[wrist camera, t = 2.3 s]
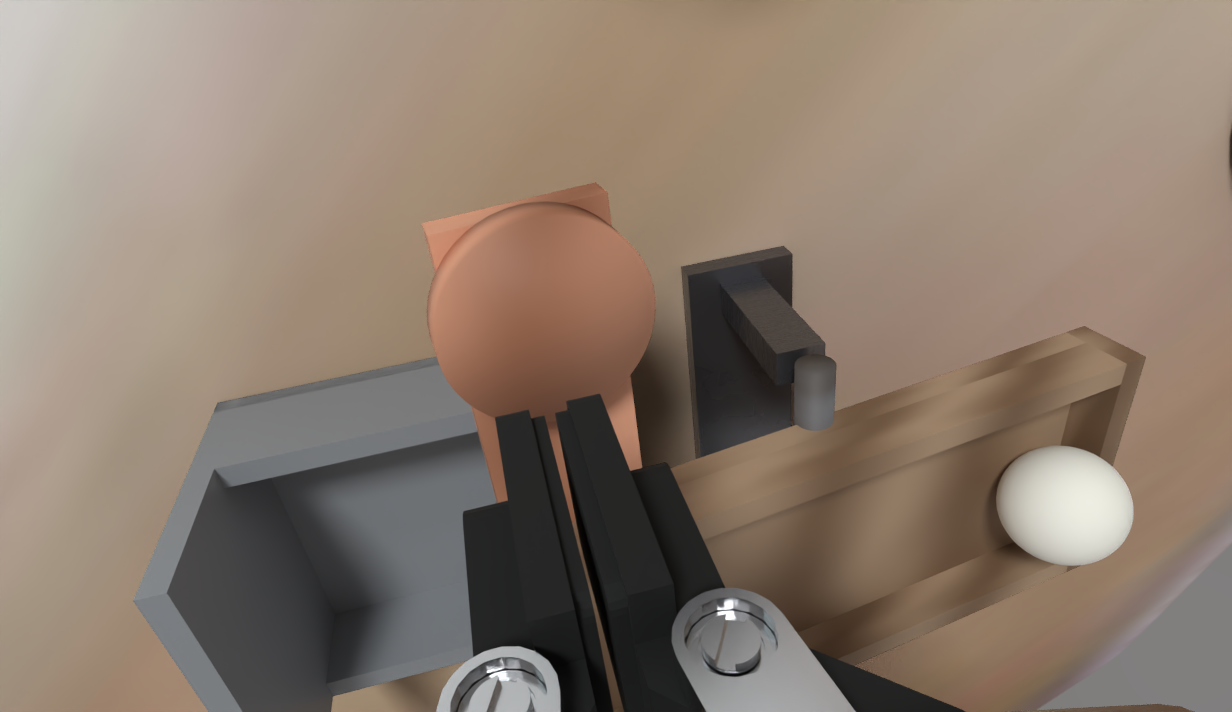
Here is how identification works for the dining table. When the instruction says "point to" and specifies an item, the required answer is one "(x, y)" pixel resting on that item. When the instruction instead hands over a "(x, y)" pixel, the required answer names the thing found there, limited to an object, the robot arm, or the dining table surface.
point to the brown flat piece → (784, 460)
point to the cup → (321, 542)
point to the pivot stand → (742, 346)
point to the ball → (1064, 505)
